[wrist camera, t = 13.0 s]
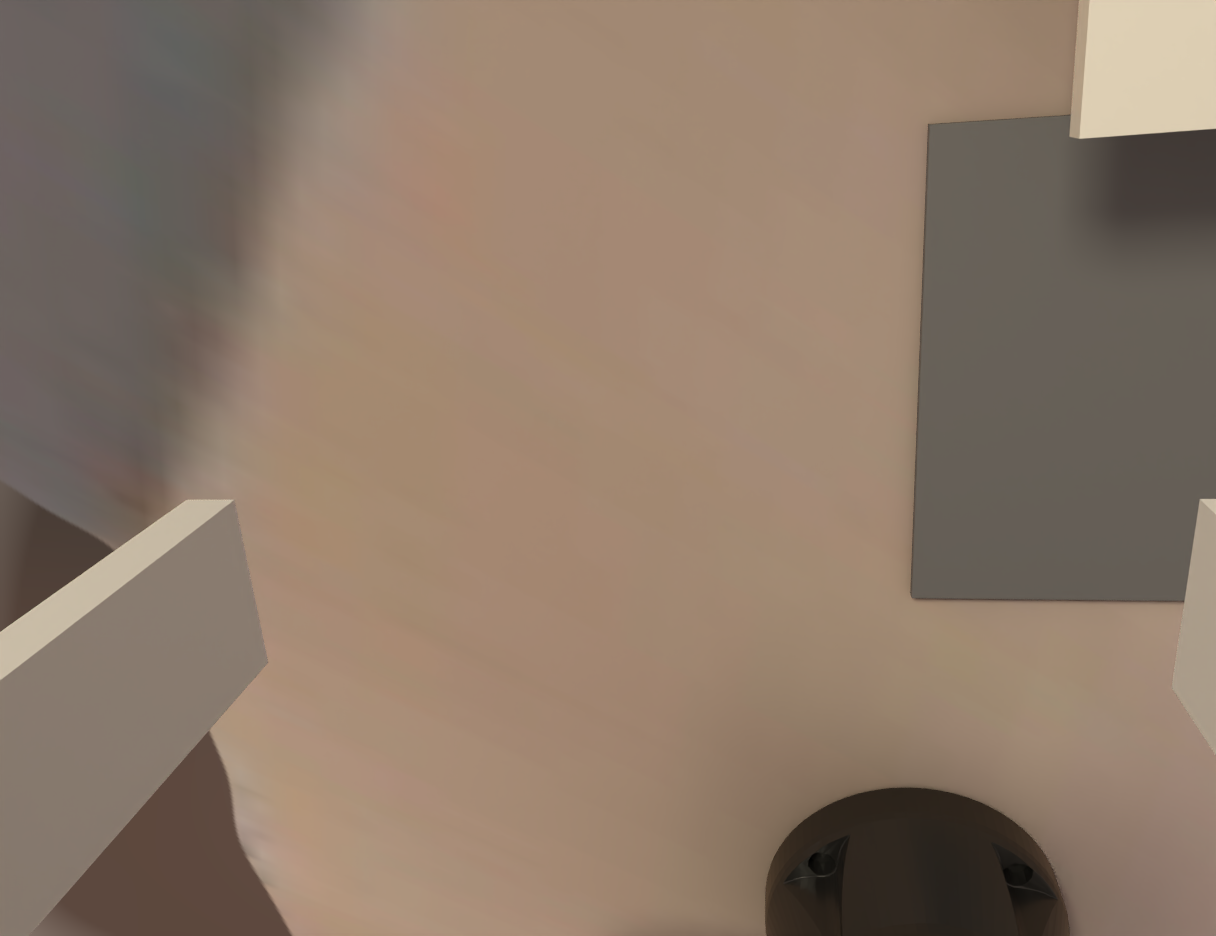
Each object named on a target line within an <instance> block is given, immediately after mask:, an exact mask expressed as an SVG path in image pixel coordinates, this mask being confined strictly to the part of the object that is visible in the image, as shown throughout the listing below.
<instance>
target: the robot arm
mask: <svg viewBox="0 0 1216 936" xmlns="http://www.w3.org/2000/svg"><path fill="white" fill-rule="evenodd" d="M267 663H268V659H267V655H266V650H265V645H264V640H263V635H262V630H261V626H260V621H259V616H258V611H257V606H256V602H255V597H254V592H253V587H252V582H251V577H250V573H249V568H248V563H247V558H246V553H245V549H244V544H243V539H242V534H241V529H240V524H239V520H238V515H237V510H236V505H235V500H186V501H184V502H183V503H182V504H180V505H179V506H177V507H176V508H175V509H173V510H172V511H170V512H169V513H167V514H166V515H165V516H163V517H162V518H160V519H159V520H158V521H156V522H155V523H153V524H152V525H151V526H149V527H148V528H146V529H145V530H143V531H142V532H141V533H139V534H138V535H136V536H135V537H134V538H132V539H131V540H129V541H128V542H127V543H125V544H124V545H122V546H121V547H119V548H118V549H117V550H115V551H114V552H113V553H111V554H110V555H108V556H107V557H105V558H104V559H103V560H101V561H100V562H98V563H97V564H95V565H94V566H93V567H91V568H90V569H88V570H87V571H86V572H84V573H83V574H81V575H80V576H79V577H77V578H76V579H74V580H73V581H71V582H70V583H69V584H67V585H66V586H64V587H63V588H62V589H60V590H59V591H57V592H56V593H55V594H53V595H52V596H50V597H49V598H48V599H46V600H45V601H43V602H42V603H40V604H39V605H38V606H36V607H35V608H33V609H32V610H31V611H29V612H28V613H26V614H25V615H24V616H22V617H21V618H19V619H18V620H17V621H15V622H14V623H12V624H11V625H9V626H8V627H7V628H5V629H4V630H2V631H1V632H0V936H29V935H30V934H31V933H32V932H33V931H34V929H35V928H36V927H37V926H38V925H39V924H40V922H41V921H42V920H43V919H44V918H45V917H46V915H48V913H49V912H50V911H51V910H52V909H53V908H54V907H55V905H56V904H57V903H58V902H59V901H60V900H61V899H62V897H63V896H64V895H65V894H66V893H67V892H68V891H69V889H70V888H71V887H72V886H73V885H74V884H75V883H76V881H77V880H78V879H79V878H80V877H81V876H82V875H83V873H84V872H85V871H86V870H87V869H88V868H89V866H90V865H91V864H92V863H93V862H94V861H95V860H96V859H97V857H98V856H99V855H100V854H101V853H102V852H103V851H104V849H105V848H106V847H107V846H108V845H109V844H110V843H111V841H112V840H113V839H114V838H115V837H116V835H118V833H119V832H120V831H121V830H122V829H123V828H124V826H125V825H126V824H127V823H128V822H129V821H130V820H131V819H132V817H133V816H134V815H135V814H136V813H137V812H138V811H139V809H140V808H141V807H142V806H143V805H144V804H145V803H146V801H147V800H148V799H149V798H150V797H151V796H152V795H153V793H154V792H155V791H156V790H157V789H158V788H159V786H160V785H161V784H162V783H163V782H164V781H165V780H166V779H167V778H168V776H169V775H170V774H171V773H172V772H173V771H174V770H175V768H176V767H177V766H178V765H179V764H180V762H181V761H182V760H183V759H184V758H185V757H186V756H187V755H188V753H189V752H190V751H191V750H192V749H193V748H194V747H195V746H196V744H197V743H198V742H199V741H200V740H201V739H202V738H203V736H204V735H205V734H206V733H207V732H208V731H209V730H210V728H211V727H212V726H213V725H214V724H215V723H216V722H217V720H218V719H219V718H220V717H221V716H222V715H223V714H224V712H225V711H226V710H227V709H228V708H229V707H230V706H231V704H232V703H233V702H234V701H235V700H236V699H237V698H238V696H239V695H240V694H241V693H242V692H243V691H244V690H245V688H246V687H247V686H248V685H249V684H250V683H251V682H252V680H253V679H254V678H255V677H256V676H257V675H258V674H259V672H260V671H261V670H262V669H263V668H264V667H265V666H266V664H267ZM1172 689H1173V691H1174V692H1175V694H1176V695H1177V697H1178V698H1179V700H1180V701H1181V703H1182V704H1183V706H1184V708H1185V709H1186V711H1187V712H1188V714H1189V715H1190V717H1191V718H1192V720H1193V721H1194V723H1195V724H1196V726H1197V727H1198V729H1199V731H1200V732H1201V734H1202V735H1203V737H1204V738H1205V740H1206V741H1207V743H1208V744H1209V746H1210V747H1211V749H1212V751H1213V752H1214V754H1215V755H1216V499H1200V501H1199V508H1198V514H1197V521H1196V528H1195V534H1194V541H1193V548H1192V554H1191V561H1190V568H1189V575H1188V581H1187V588H1186V595H1185V601H1184V608H1183V615H1182V621H1181V628H1180V635H1179V642H1178V648H1177V655H1176V662H1175V668H1174V675H1173V682H1172ZM765 926H766V935H767V936H1070V932H1069V923H1068V916H1067V911H1066V907H1065V904H1064V901H1063V898H1062V895H1061V892H1060V889H1059V887H1058V884H1057V881H1056V878H1055V875H1054V872H1053V870H1052V868H1051V866H1050V863H1049V862H1048V860H1047V858H1046V856H1045V855H1044V853H1043V852H1042V850H1041V849H1040V847H1039V846H1038V845H1037V844H1036V843H1035V841H1034V840H1033V839H1032V838H1031V837H1030V836H1029V835H1028V834H1027V833H1026V832H1025V831H1024V830H1023V829H1022V828H1021V827H1019V826H1018V825H1017V824H1016V823H1014V822H1013V821H1012V820H1010V819H1009V818H1007V817H1006V816H1004V815H1003V814H1001V813H999V812H998V811H996V810H994V809H992V808H990V807H988V806H986V805H984V804H982V803H980V802H977V801H974V800H972V799H969V798H966V797H963V796H960V795H956V794H952V793H948V792H943V791H938V790H931V789H921V788H890V789H881V790H875V791H869V792H865V793H860V794H857V795H853V796H850V797H847V798H844V799H842V800H839V801H836V802H834V803H832V804H830V805H828V806H826V807H824V808H822V809H820V810H819V811H817V812H816V813H814V814H812V815H811V816H810V817H808V818H807V819H806V820H804V821H803V822H802V823H801V824H799V825H798V826H797V827H796V828H795V829H794V830H793V831H792V832H791V833H790V834H789V836H788V837H787V838H786V839H785V840H784V842H783V843H782V845H781V846H780V848H779V849H778V851H777V853H776V855H775V856H774V859H773V861H772V863H771V866H770V869H769V872H768V877H767V882H766V895H765Z"/></svg>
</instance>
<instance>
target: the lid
mask: <svg viewBox="0 0 1216 936" xmlns="http://www.w3.org/2000/svg"><path fill="white" fill-rule="evenodd" d="M1204 129H1216V0H1079V8H1078V22H1077V37H1076V51H1075V65H1074V79H1073V93H1072V107H1071V121H1070V135H1069V137H1073V138H1078V139H1083V138H1097V137H1110V136H1124V135H1137V134H1150V133H1164V132H1177V131H1191V130H1204Z"/></svg>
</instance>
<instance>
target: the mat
mask: <svg viewBox="0 0 1216 936" xmlns="http://www.w3.org/2000/svg"><path fill="white" fill-rule="evenodd" d="M1070 121H1071V115H1061V116H1046V117H1031V118H1016V119H1001V120H985V121H970V122H955V123H940V124H928V142H927V168H926V195H925V221H924V248H923V274H922V301H921V327H920V354H919V380H918V407H917V433H916V460H915V486H914V513H913V539H912V566H911V592H910V593H911V597H912V598H949V599H1047V600H1145V601H1185V595H1186V588H1187V581H1188V575H1189V568H1190V561H1191V554H1192V548H1193V541H1194V534H1195V528H1196V521H1197V514H1198V508H1199V501H1200V499H1216V129H1204V130H1191V131H1177V132H1164V133H1150V134H1137V135H1124V136H1110V137H1097V138H1083V139H1078V138H1073V137H1069V135H1070Z"/></svg>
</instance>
